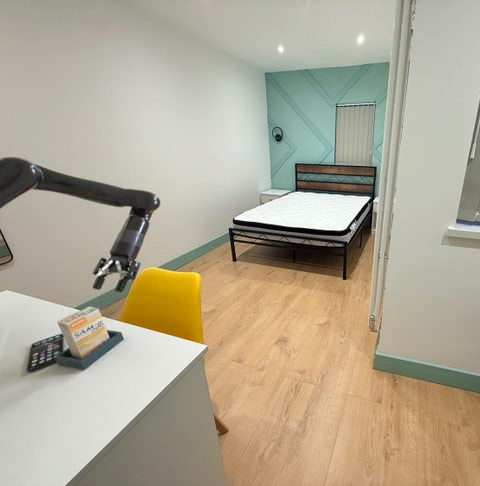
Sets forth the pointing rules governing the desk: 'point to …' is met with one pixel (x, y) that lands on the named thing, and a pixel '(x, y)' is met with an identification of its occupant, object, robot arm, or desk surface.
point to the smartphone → (45, 352)
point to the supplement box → (84, 332)
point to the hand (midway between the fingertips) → (107, 290)
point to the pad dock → (70, 361)
